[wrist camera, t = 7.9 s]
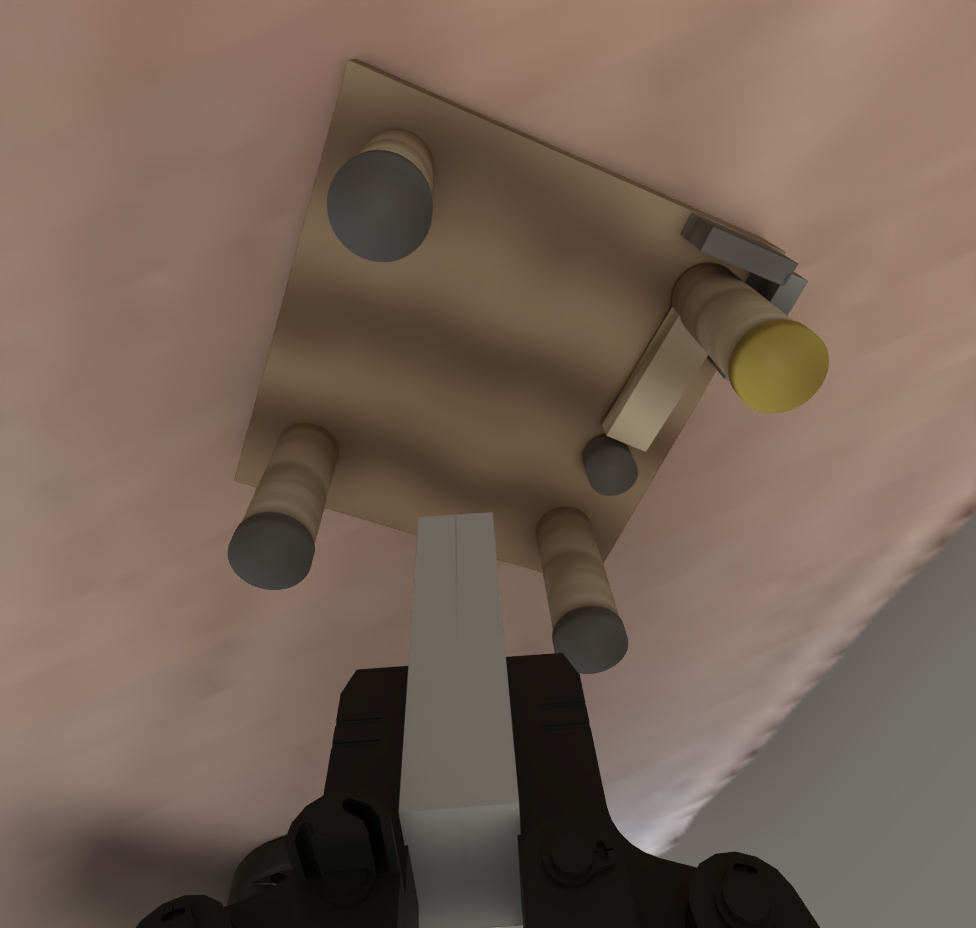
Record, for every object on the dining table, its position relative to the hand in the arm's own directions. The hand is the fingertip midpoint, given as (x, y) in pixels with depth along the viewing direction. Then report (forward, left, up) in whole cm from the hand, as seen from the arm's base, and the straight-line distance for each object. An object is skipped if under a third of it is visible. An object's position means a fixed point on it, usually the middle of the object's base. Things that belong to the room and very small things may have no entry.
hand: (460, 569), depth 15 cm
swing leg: (0, -10, -20) cm, 22 cm away
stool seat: (-3, -3, -22) cm, 23 cm away
